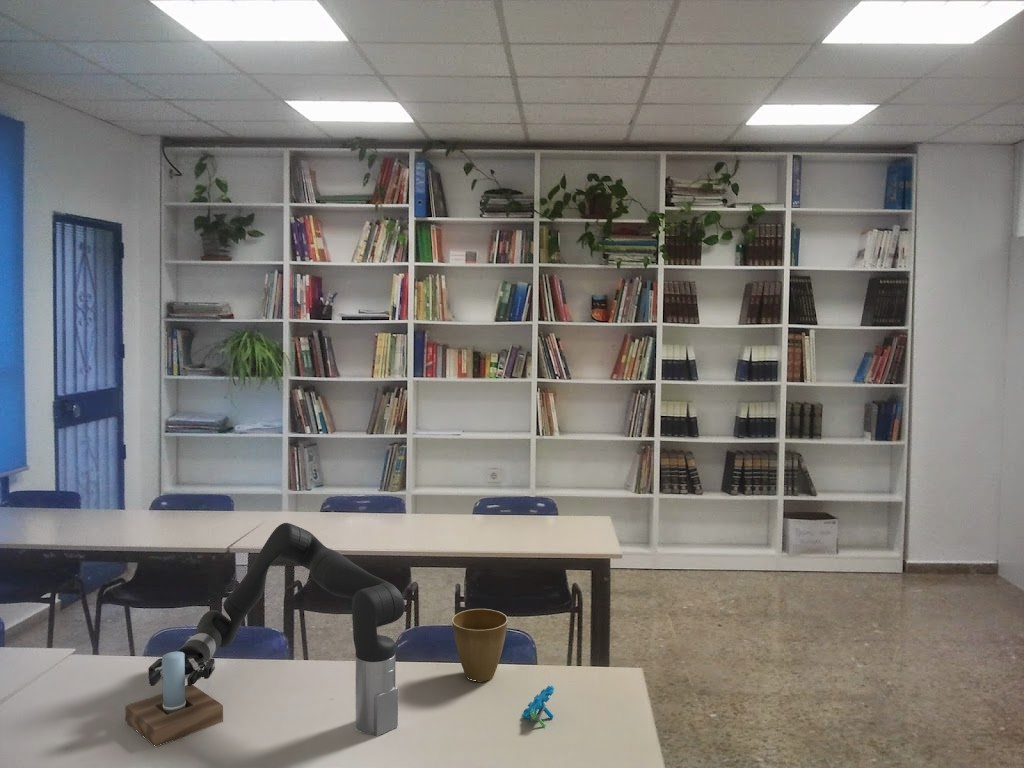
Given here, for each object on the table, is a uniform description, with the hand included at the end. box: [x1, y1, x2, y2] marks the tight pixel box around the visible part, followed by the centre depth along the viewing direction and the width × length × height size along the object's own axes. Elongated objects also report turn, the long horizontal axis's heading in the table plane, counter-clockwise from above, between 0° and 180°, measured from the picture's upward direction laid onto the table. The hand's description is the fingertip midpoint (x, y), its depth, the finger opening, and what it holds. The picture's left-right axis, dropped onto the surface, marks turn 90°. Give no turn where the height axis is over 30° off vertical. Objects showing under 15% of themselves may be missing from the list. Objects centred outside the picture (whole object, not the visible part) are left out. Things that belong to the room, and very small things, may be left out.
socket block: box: [124, 684, 224, 747], centre depth 191 cm, size 16×16×4 cm
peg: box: [162, 651, 186, 715], centre depth 190 cm, size 5×5×16 cm
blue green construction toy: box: [522, 685, 555, 728], centre depth 195 cm, size 11×6×10 cm
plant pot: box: [451, 608, 508, 682], centre depth 217 cm, size 15×15×16 cm
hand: (170, 682), depth 188 cm, fingers open, 8 cm apart
